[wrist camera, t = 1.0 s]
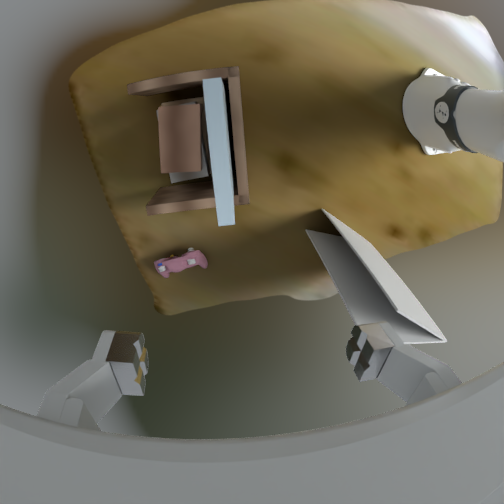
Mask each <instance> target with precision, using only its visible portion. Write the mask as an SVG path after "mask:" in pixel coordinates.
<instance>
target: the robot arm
mask: <svg viewBox="0 0 504 504" xmlns="http://www.w3.org/2000/svg"><path fill="white" fill-rule="evenodd" d="M403 115H404V119H405V122H406V125H407V127H408V129H409V131H410V132H411V134H412V135H413V136H414V137H415V138H416V139H417V140H418V141H419V142H420V144H421V146H422V149H423V151H424V152H425V154H427V155H434V154H440V153H446V152H448V153H452V151H459V150H464V151H466V152H471V153H481V154H483V155H486V156H489V157H491V158H494V159H496V160H499V161H501V162H504V90H484V89H478V88H476V87H474V86H470V85H469V84H468V83H465V82H460V80H459V79H456V78H454V79H453V77H449V76H444V75H442V74H440V73H439V72H437V71H435V70H433V69H431V68H425V69H424V71H423V72H422V74H421V76H420V77H419V78H417V79H416V80H414V81H413V82H412V83H411V84H410V85H409V86H408V87H407V89H406V91H405V94H404V98H403ZM351 334H352V336H353V337H352V338H351V339H350V340H349V341H348V343H347V346H346V355H347V359H348V361H349V363H351V364H353V365H354V366H355V367H354V372H355V374H356V376H357V378H358V380H359V382H361V381H366V380H371V379H376V378H377V380H378V381H379V382H381V383H382V384H383V385H385V386H386V387H387V388H389V389H390V390H391V391H393V392H394V393H395V394H396V395H398V396H399V397H400V398H402V399H403V400H404V401H406V402H407V403H406V405H405V406H404V407H401V408H398V409H395V410H391V411H388V412H385V413H382V414H378V415H375V416H371V417H367V418H364V419H360V420H356V421H352V422H348V423H343V424H339V425H334V426H330V427H324V428H319V429H314V430H308V431H302V432H296V433H288V434H280V435H272V436H263V437H251V438H235V439H205V440H204V439H203V440H202V439H167V438H152V437H141V436H131V435H122V434H116V433H109V432H103V431H101V430H100V428H99V427H98V425H97V423H98V422H99V421H100V420H101V419H102V418H103V417H104V415H105V414H106V413H107V412H108V411H109V410H110V409H111V408H112V407H113V405H114V404H115V403H116V402H117V401H118V400H119V399H120V398H121V396H122V394H123V395H139V396H140V395H141V396H143V395H144V390H145V383H146V381H145V378H144V376H145V374H147V371H148V354H147V349H146V348H144V347H143V346H144V341H145V340H144V336H143V334H142V333H137V332H124V331H109V330H104V331H103V332H102V334H101V337H100V339H99V342H98V344H97V347H96V350H95V352H94V355H93V358H92V360H87V361H86V362H84V363H83V364H82V365H80V366H79V367H78V368H76V369H75V370H74V371H72V372H71V373H70V374H68V375H67V376H66V377H64V378H63V379H62V380H60V381H59V382H58V383H56V384H55V385H53V386H52V387H51V388H49V389H48V390H47V391H46V393H45V395H44V398H43V400H42V403H41V406H40V408H39V411H38V414H37V416H34V415H31V414H27V413H24V412H21V411H18V410H15V409H12V408H10V407H7V406H4V405H1V404H0V504H504V362H502V363H501V364H499V365H497V366H495V367H493V368H491V369H490V370H488V371H486V372H484V373H482V374H481V375H478V376H476V377H474V378H472V379H470V380H468V381H466V382H464V383H462V382H461V381H460V379H459V378H458V377H457V375H456V374H455V373H454V371H453V370H452V369H451V367H450V366H449V365H447V364H445V363H443V362H441V361H440V360H437V359H436V358H434V357H432V356H430V355H428V354H426V353H424V352H422V351H420V350H418V349H416V348H414V347H412V346H411V345H409V344H406V345H405V344H404V342H403V341H402V340H401V338H400V337H399V336H398V334H397V333H396V332H395V330H394V329H393V328H392V327H391V325H390V324H389V323H388V322H387V321H382V322H376V323H369V324H361V325H355V326H354V327H353V329H352V331H351Z"/></svg>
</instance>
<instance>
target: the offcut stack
mask: <svg viewBox="0 0 504 504" xmlns="http://www.w3.org/2000/svg"><path fill="white" fill-rule="evenodd" d="M161 105H162V107H158V110H156V112H157V117H158V123H159V147H160V164H161V173H169V175H170V179H171V183H175V182H180V181H185V180H190V179H195V178H201V177H206V176H209V174H211V164H210V156H209V146H208V137H207V127H206V118H205V107H204V97H198V98H191V99H184V100H177V101H171V102H166V103H161Z"/></svg>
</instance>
